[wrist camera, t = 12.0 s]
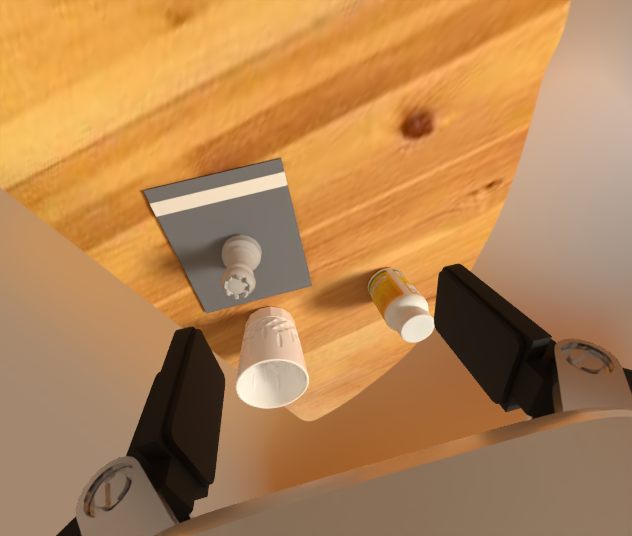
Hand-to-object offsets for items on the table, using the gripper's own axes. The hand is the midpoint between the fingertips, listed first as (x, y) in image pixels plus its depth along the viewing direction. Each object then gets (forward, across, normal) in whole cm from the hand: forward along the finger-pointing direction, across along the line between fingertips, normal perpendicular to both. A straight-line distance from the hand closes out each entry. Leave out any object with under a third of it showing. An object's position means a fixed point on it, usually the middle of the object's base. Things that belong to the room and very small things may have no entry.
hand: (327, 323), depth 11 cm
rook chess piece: (+22, +6, +7) cm, 24 cm away
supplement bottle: (+22, -11, +16) cm, 30 cm away
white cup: (+22, +6, +19) cm, 29 cm away
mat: (+22, +6, +6) cm, 24 cm away
